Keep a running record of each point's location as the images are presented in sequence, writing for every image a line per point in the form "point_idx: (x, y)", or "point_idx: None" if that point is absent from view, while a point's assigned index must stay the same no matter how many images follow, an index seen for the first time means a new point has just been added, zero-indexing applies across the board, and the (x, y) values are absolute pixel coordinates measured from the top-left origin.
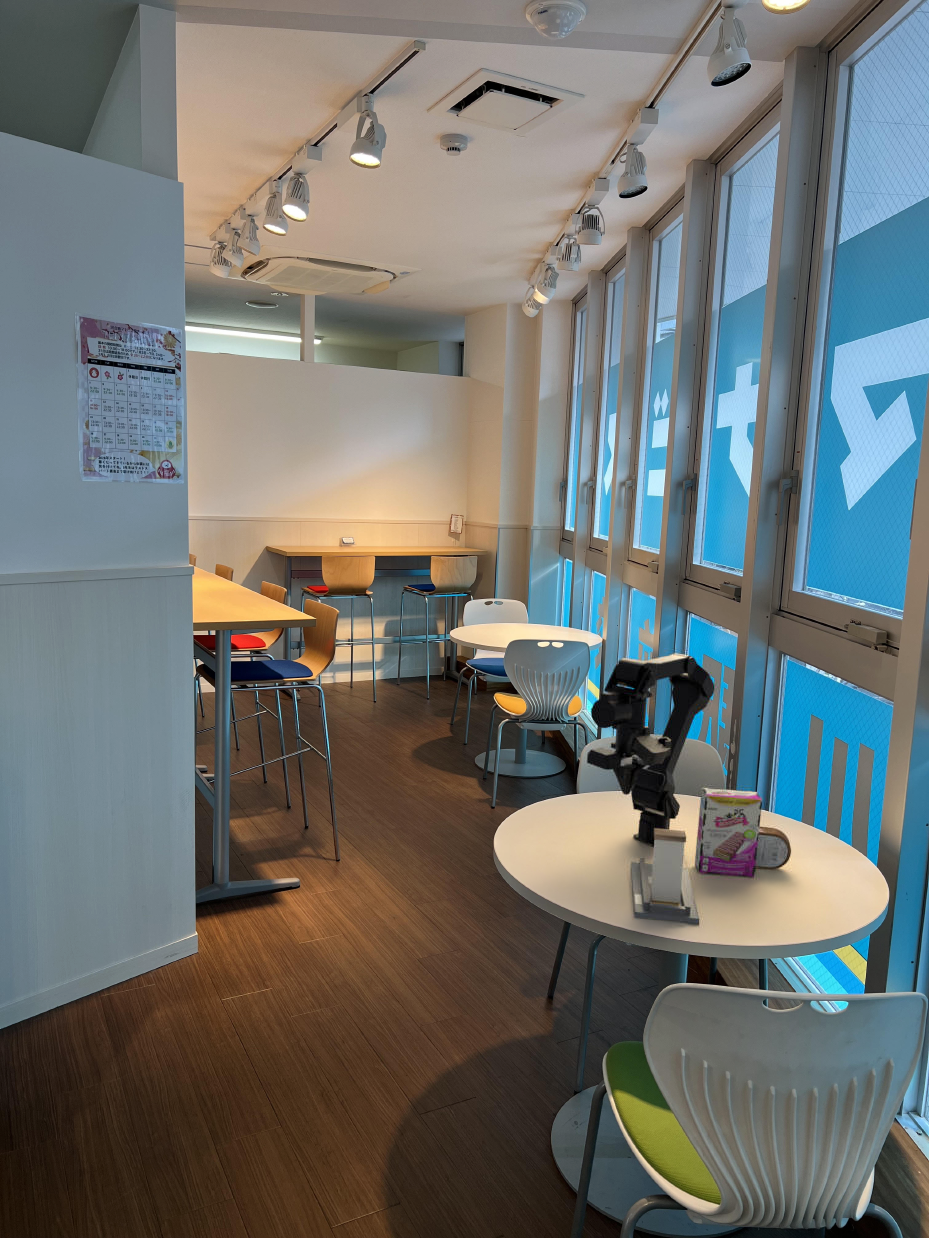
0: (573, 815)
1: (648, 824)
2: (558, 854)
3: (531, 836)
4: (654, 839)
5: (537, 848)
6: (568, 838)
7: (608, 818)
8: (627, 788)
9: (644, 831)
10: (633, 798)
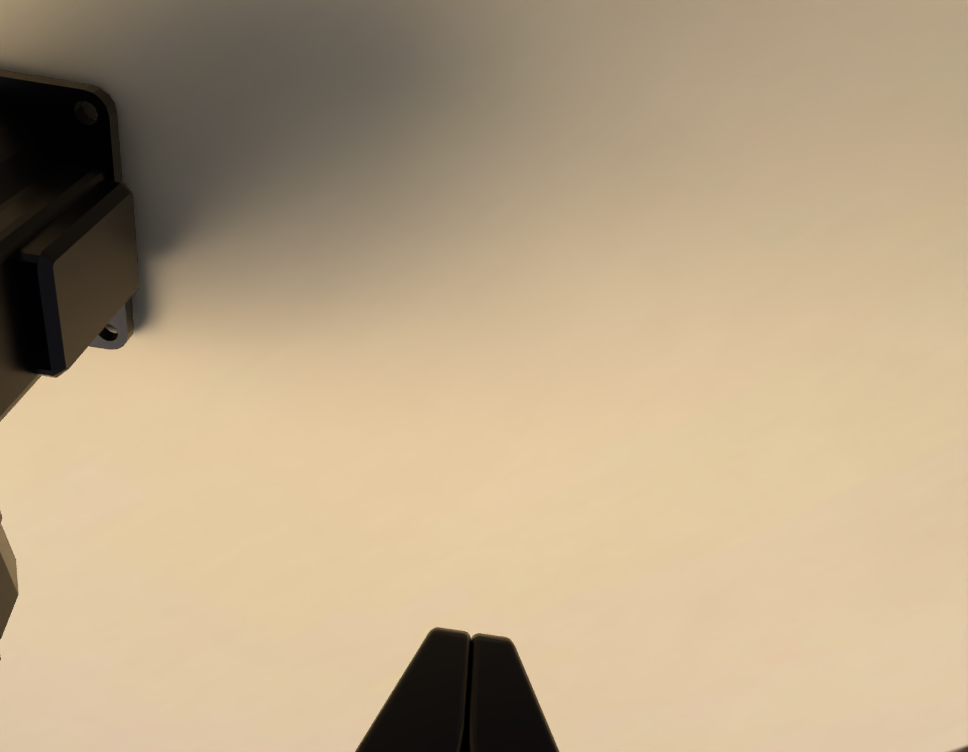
0: (221, 743)
1: (45, 255)
2: (887, 497)
3: (724, 724)
4: (45, 151)
5: (883, 621)
6: (569, 594)
7: (38, 614)
8: (528, 748)
9: (99, 255)
10: (15, 593)
